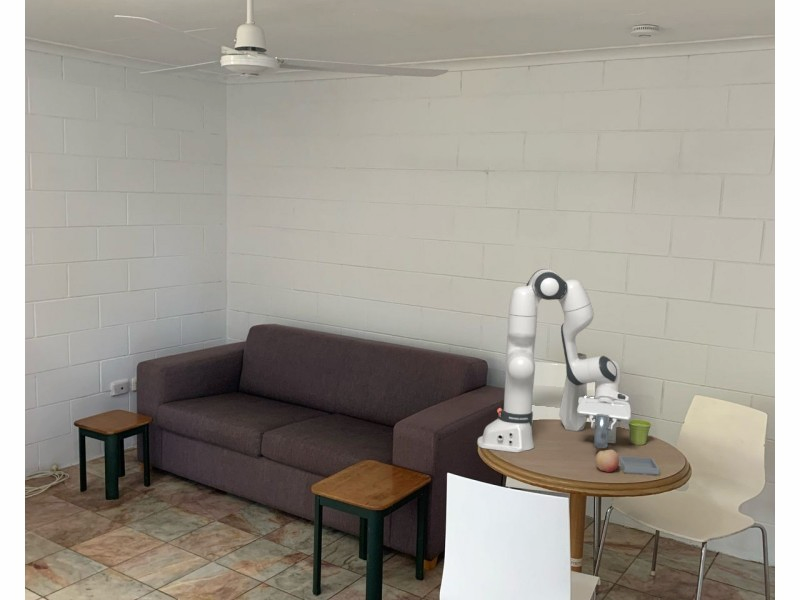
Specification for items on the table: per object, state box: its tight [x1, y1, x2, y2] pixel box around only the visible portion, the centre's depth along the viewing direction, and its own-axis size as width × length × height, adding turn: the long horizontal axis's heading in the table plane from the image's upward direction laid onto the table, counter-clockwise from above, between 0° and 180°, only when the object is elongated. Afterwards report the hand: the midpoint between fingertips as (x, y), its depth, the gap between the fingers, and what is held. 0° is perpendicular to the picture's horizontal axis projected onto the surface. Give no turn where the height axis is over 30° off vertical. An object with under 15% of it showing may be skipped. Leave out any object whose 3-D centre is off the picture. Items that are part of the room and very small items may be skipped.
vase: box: [558, 352, 588, 432], centre depth 326 cm, size 12×12×33 cm
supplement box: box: [607, 421, 618, 444], centre depth 312 cm, size 7×7×13 cm
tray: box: [618, 455, 660, 476], centre depth 278 cm, size 12×12×2 cm
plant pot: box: [628, 419, 652, 446], centre depth 309 cm, size 9×9×9 cm
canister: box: [593, 414, 610, 449], centre depth 289 cm, size 5×5×12 cm
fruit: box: [595, 449, 620, 473], centre depth 274 cm, size 8×8×8 cm
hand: (601, 428), depth 288 cm, fingers closed on canister, 5 cm apart
